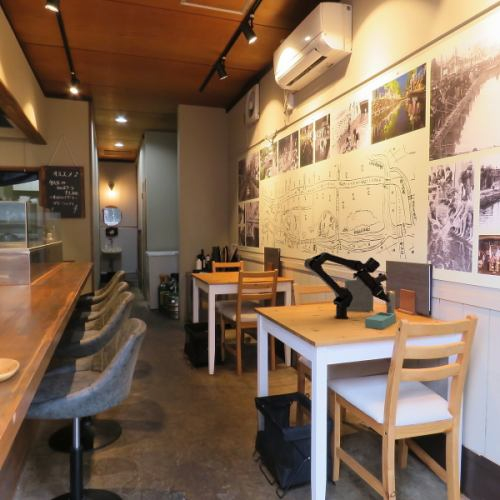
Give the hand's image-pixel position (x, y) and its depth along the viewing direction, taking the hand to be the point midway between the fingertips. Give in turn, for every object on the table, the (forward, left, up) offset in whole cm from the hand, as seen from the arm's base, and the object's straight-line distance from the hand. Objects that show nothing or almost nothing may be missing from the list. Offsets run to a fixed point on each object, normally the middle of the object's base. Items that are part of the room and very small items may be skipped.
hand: (388, 300), depth 215 cm
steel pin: (0, +1, -9) cm, 9 cm away
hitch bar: (+16, -7, -9) cm, 20 cm away
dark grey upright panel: (-18, -12, -9) cm, 24 cm away
